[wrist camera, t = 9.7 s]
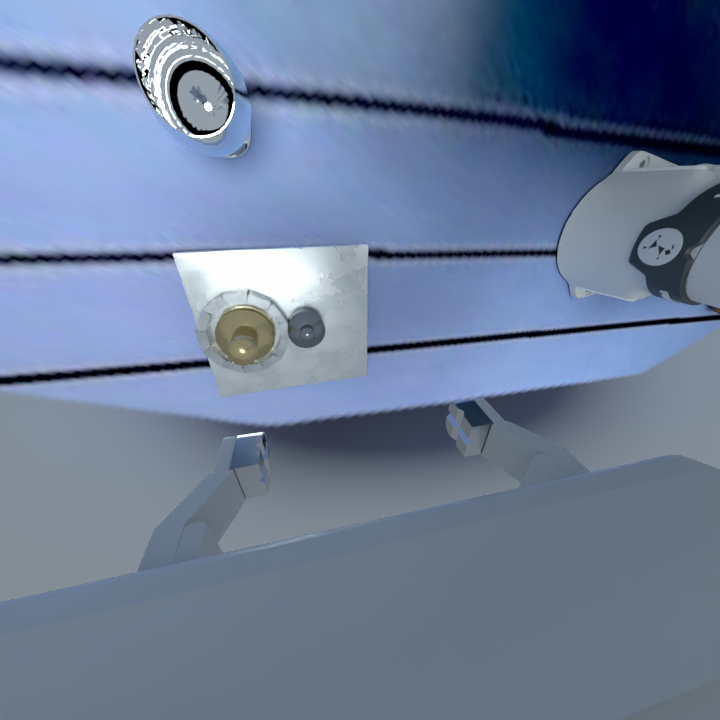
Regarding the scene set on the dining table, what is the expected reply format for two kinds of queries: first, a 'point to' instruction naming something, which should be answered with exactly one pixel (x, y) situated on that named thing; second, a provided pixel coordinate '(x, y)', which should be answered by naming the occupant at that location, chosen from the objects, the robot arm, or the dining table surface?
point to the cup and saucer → (716, 309)
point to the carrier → (283, 311)
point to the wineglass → (193, 87)
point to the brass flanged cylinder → (245, 334)
